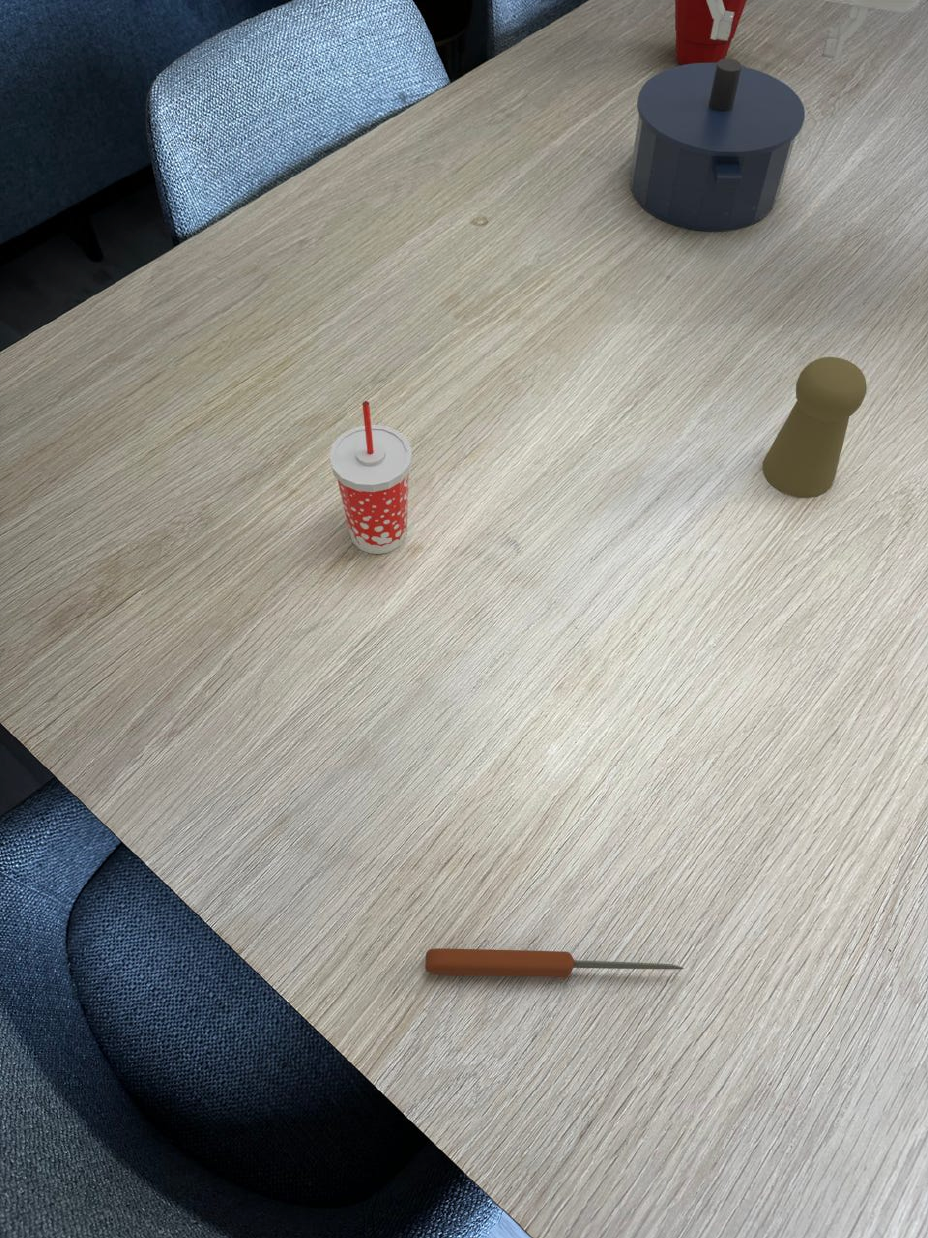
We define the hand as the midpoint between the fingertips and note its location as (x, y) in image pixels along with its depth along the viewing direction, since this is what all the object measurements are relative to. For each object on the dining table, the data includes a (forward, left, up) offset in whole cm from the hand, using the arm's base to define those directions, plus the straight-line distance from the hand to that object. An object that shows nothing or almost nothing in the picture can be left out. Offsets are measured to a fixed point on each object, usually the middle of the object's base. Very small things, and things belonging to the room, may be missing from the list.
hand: (775, 45), depth 88 cm
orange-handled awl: (+18, +72, -21) cm, 77 cm away
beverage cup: (+32, +38, -21) cm, 54 cm away
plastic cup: (-1, -38, -21) cm, 43 cm away
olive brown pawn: (-3, +30, -21) cm, 36 cm away
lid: (+1, -11, -12) cm, 16 cm away
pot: (+1, -11, -20) cm, 23 cm away
